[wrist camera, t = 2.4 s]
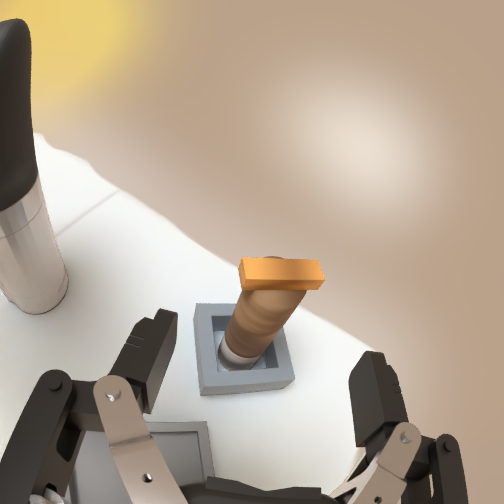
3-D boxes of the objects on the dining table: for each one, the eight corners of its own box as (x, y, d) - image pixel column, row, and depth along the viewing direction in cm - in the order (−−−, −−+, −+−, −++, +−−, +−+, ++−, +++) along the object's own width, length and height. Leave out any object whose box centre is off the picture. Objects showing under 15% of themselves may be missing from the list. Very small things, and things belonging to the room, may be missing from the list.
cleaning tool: (213, 374, 33) (249, 295, 20) (209, 337, 36) (239, 243, 23) (265, 370, 35) (330, 294, 22) (258, 336, 38) (312, 247, 25)
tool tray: (73, 523, 16) (66, 527, 14) (64, 418, 24) (56, 414, 22) (221, 528, 20) (225, 533, 19) (203, 424, 29) (206, 421, 27)
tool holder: (200, 395, 31) (204, 386, 28) (193, 319, 37) (196, 303, 34) (282, 388, 34) (295, 379, 31) (267, 318, 40) (277, 303, 37)
